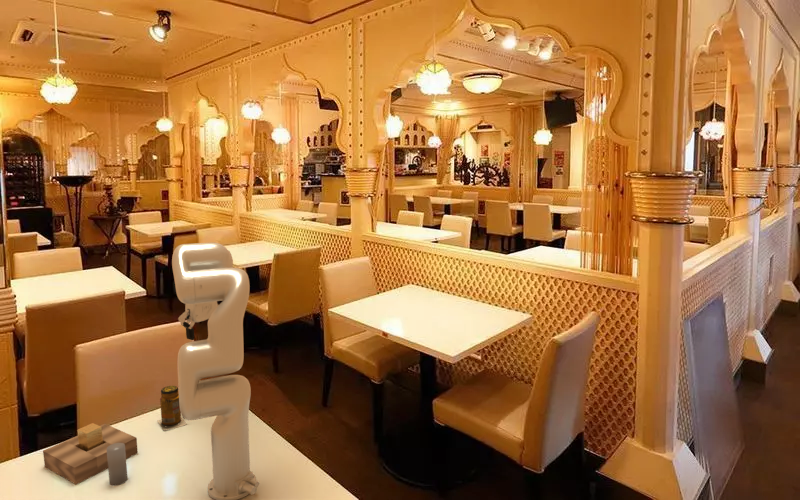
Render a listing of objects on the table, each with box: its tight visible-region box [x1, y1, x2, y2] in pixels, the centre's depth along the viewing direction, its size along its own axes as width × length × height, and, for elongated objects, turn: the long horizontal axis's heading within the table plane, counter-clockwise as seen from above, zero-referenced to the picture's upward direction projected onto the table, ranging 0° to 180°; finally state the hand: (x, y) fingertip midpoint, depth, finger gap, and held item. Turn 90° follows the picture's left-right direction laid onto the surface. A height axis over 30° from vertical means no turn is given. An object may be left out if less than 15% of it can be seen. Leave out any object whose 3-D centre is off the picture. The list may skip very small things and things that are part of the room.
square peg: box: [77, 422, 103, 452], centre depth 152 cm, size 4×4×10 cm
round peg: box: [107, 443, 129, 486], centre depth 143 cm, size 4×4×10 cm
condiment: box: [156, 385, 187, 431], centre depth 174 cm, size 7×8×12 cm
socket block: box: [42, 423, 139, 485], centre depth 152 cm, size 16×18×5 cm
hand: (202, 335), depth 177 cm, fingers open, 9 cm apart
